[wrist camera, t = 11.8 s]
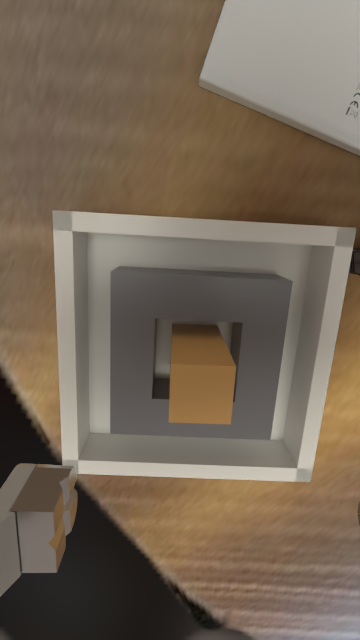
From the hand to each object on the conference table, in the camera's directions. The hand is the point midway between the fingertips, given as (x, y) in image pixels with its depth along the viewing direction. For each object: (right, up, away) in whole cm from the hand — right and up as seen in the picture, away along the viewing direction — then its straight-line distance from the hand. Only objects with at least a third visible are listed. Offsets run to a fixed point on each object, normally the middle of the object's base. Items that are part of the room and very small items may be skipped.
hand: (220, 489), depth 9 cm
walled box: (0, +3, +14) cm, 14 cm away
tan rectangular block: (0, +3, +13) cm, 13 cm away
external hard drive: (+7, +20, +10) cm, 24 cm away
